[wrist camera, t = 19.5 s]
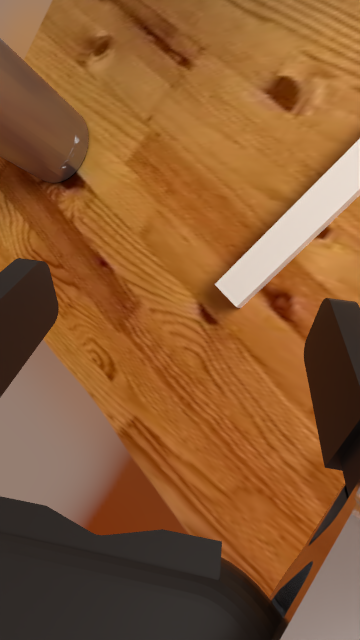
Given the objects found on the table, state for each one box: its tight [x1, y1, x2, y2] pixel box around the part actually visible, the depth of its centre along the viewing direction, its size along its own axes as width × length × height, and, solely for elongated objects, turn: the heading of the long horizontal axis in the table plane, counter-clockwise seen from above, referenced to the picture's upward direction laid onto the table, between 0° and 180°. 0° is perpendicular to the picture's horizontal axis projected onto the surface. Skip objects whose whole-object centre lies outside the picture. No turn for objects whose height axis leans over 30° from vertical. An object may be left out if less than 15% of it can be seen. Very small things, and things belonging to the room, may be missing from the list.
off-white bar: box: [215, 139, 360, 308], centre depth 28 cm, size 26×3×3 cm, turn 133°
